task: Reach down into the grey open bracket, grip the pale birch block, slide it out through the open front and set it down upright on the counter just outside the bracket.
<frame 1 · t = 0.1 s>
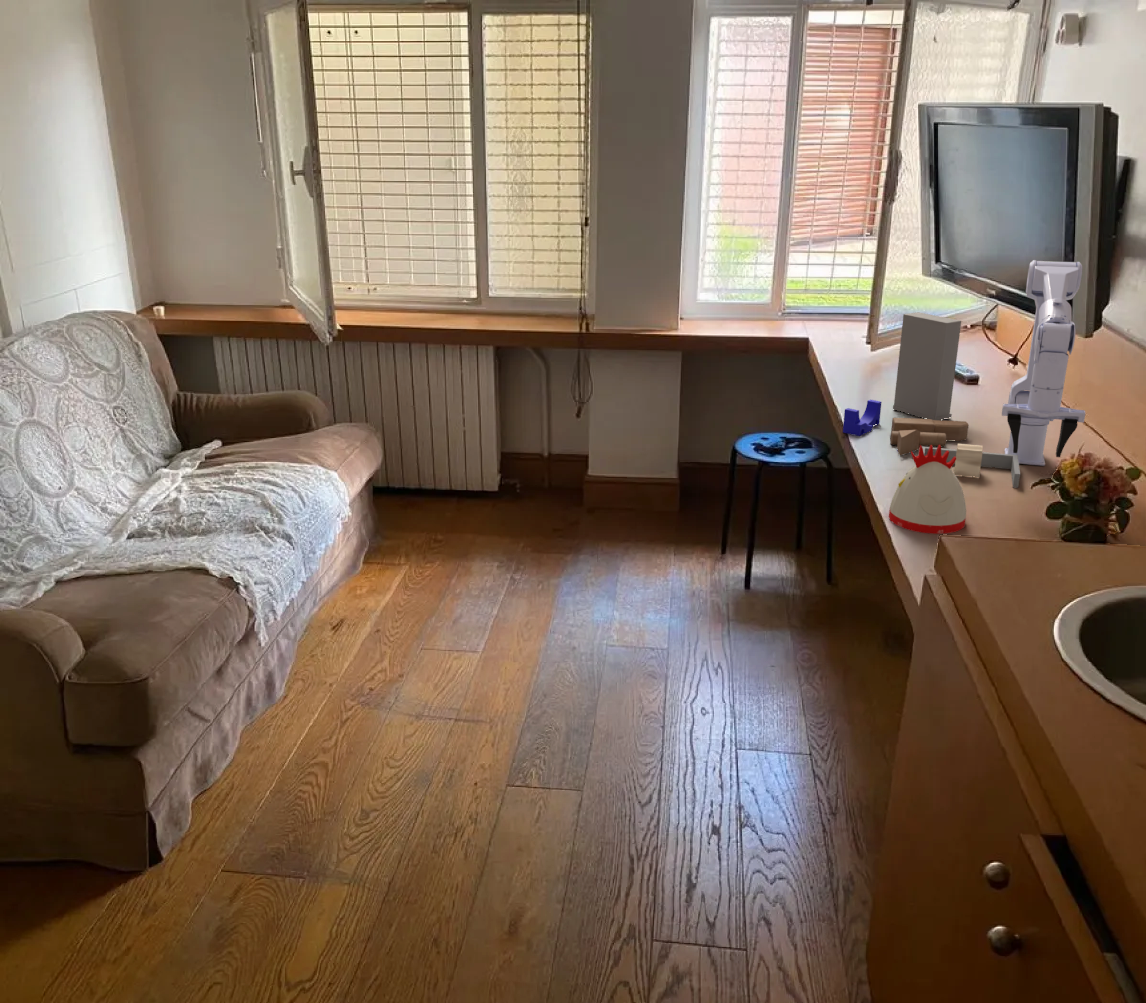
hand: (1036, 453, 200), 10 cm above the counter, tool pointing down, fingers open, 7 cm apart
wooden block set: (930, 448, 237), on the counter
birch block: (966, 474, 219), on the counter
tall grey upright block: (921, 415, 261), on the counter
grey open bracket: (966, 473, 219), on the counter
cable clip: (863, 430, 250), on the counter
kitchen timer: (926, 520, 195), on the counter
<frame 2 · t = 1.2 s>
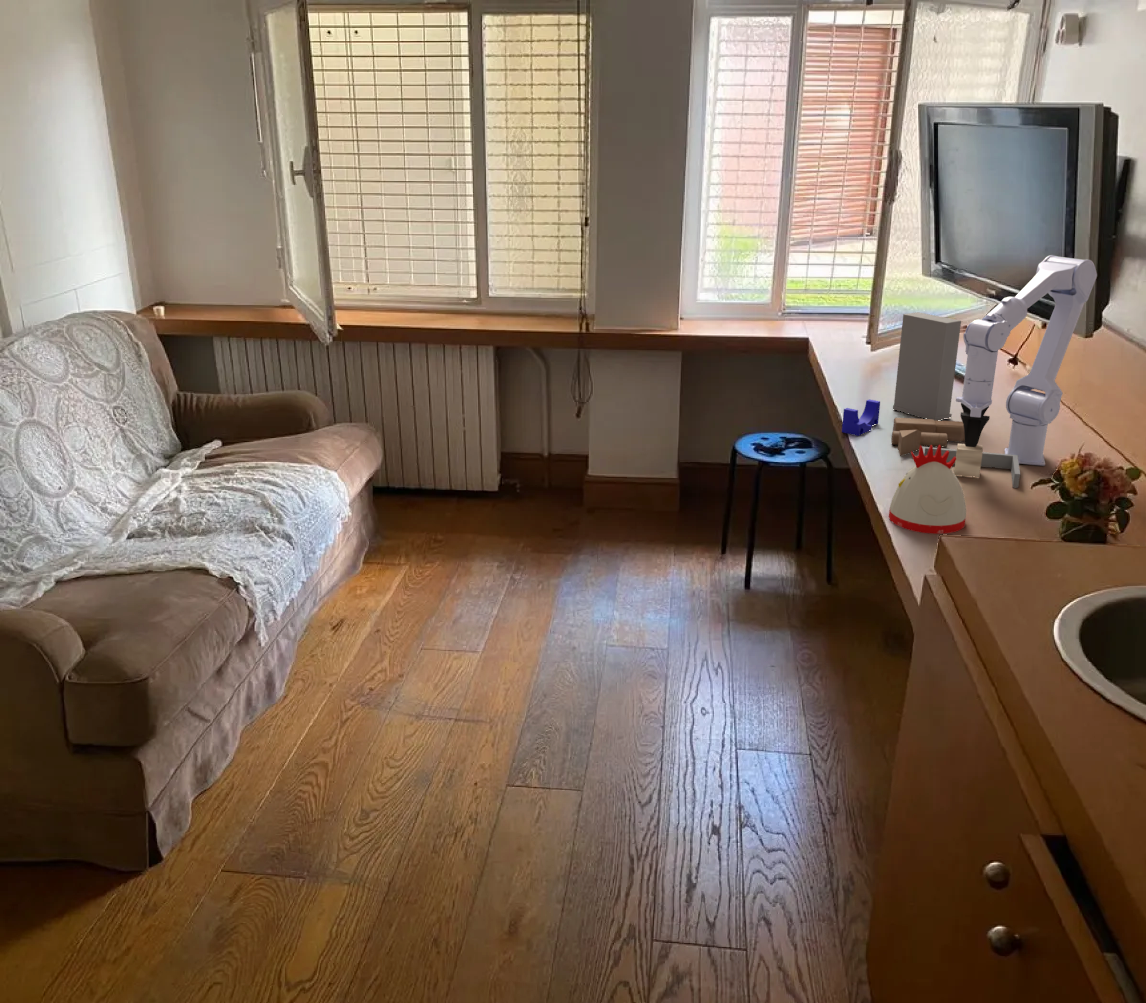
hand: (970, 441, 216), 7 cm above the counter, tool pointing down, fingers open, 7 cm apart
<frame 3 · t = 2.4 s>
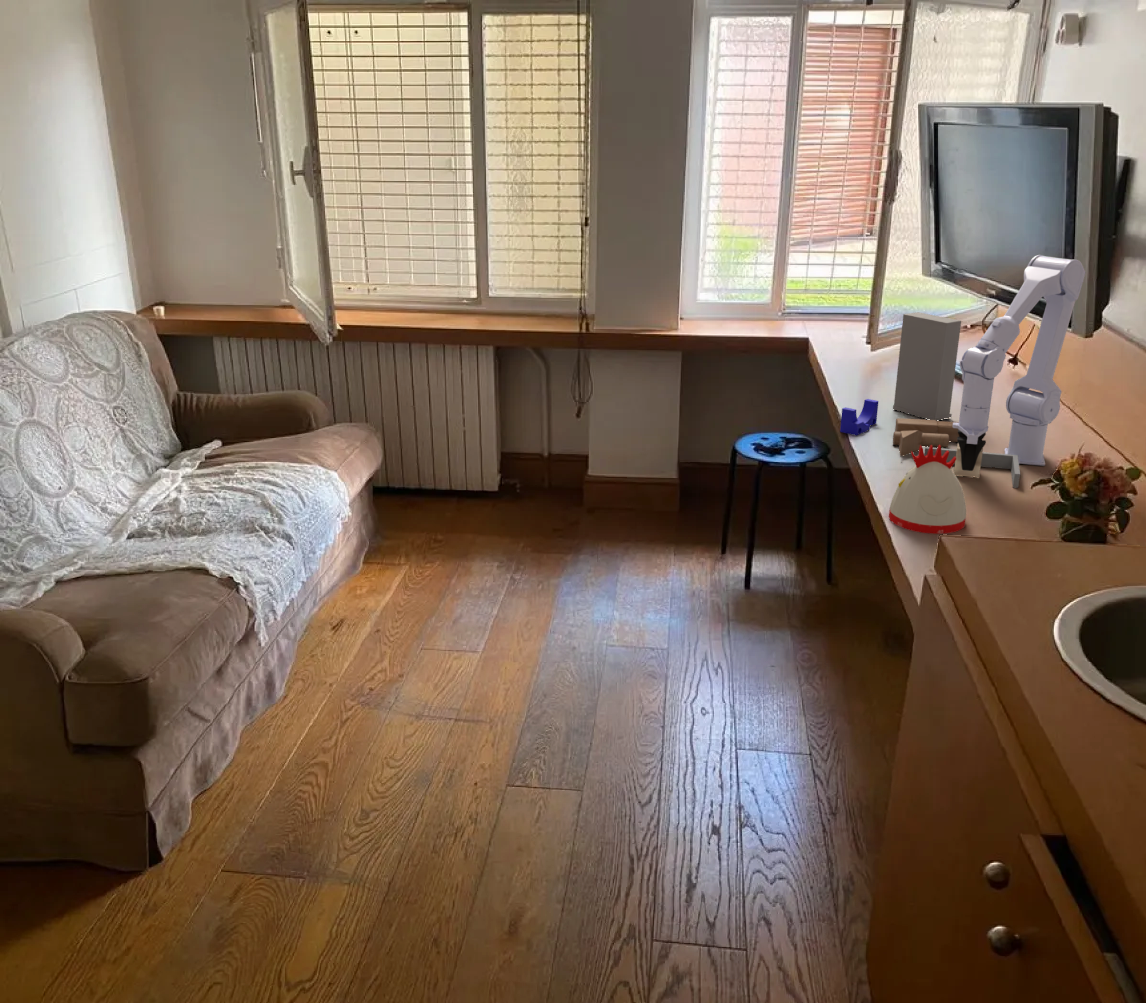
hand: (967, 466, 218), 2 cm above the counter, tool pointing down, fingers closed on birch block, 4 cm apart
birch block: (966, 473, 219), on the counter, touching gripper
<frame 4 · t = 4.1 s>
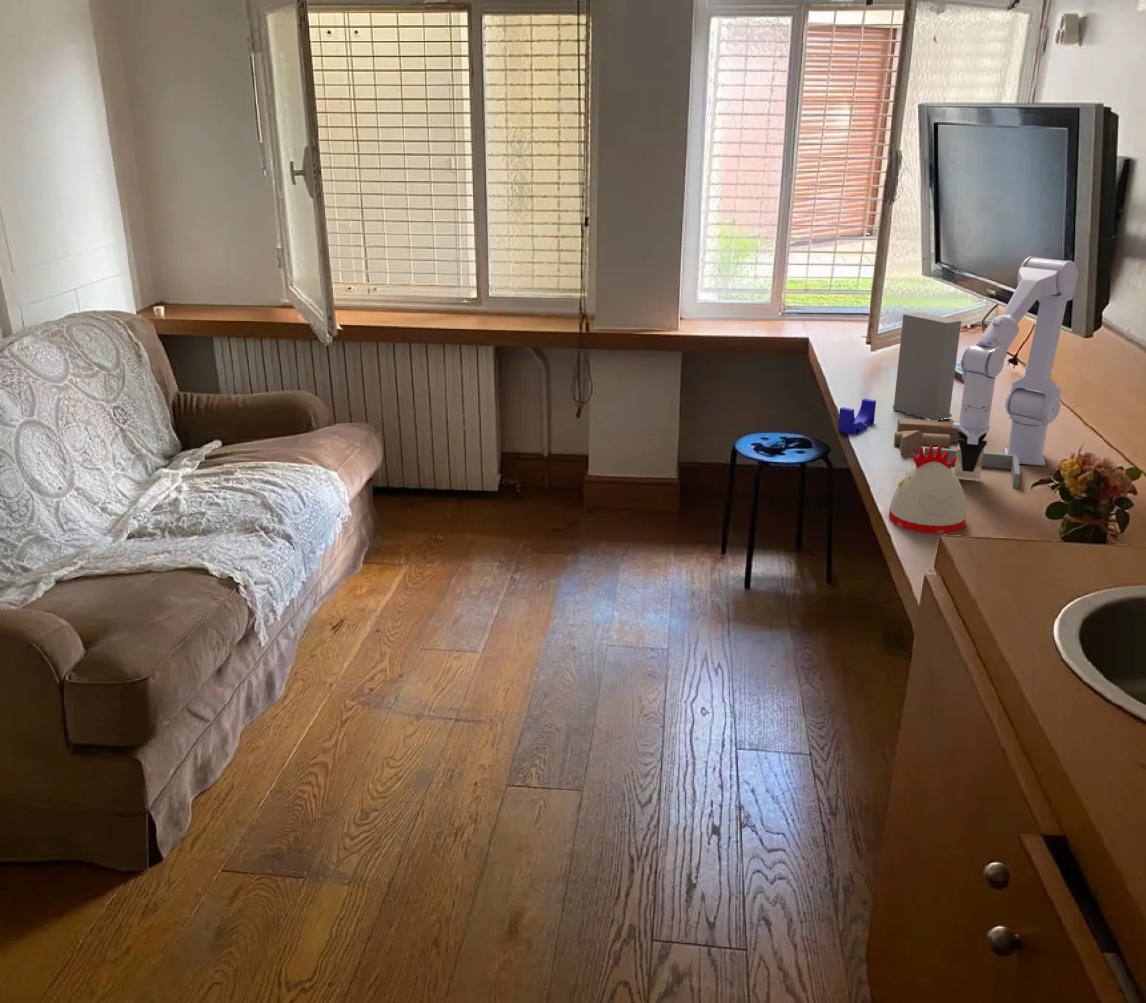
hand: (967, 467, 214), 3 cm above the counter, tool pointing down, fingers closed on birch block, 4 cm apart
birch block: (966, 474, 214), point 1 cm above the counter, touching gripper
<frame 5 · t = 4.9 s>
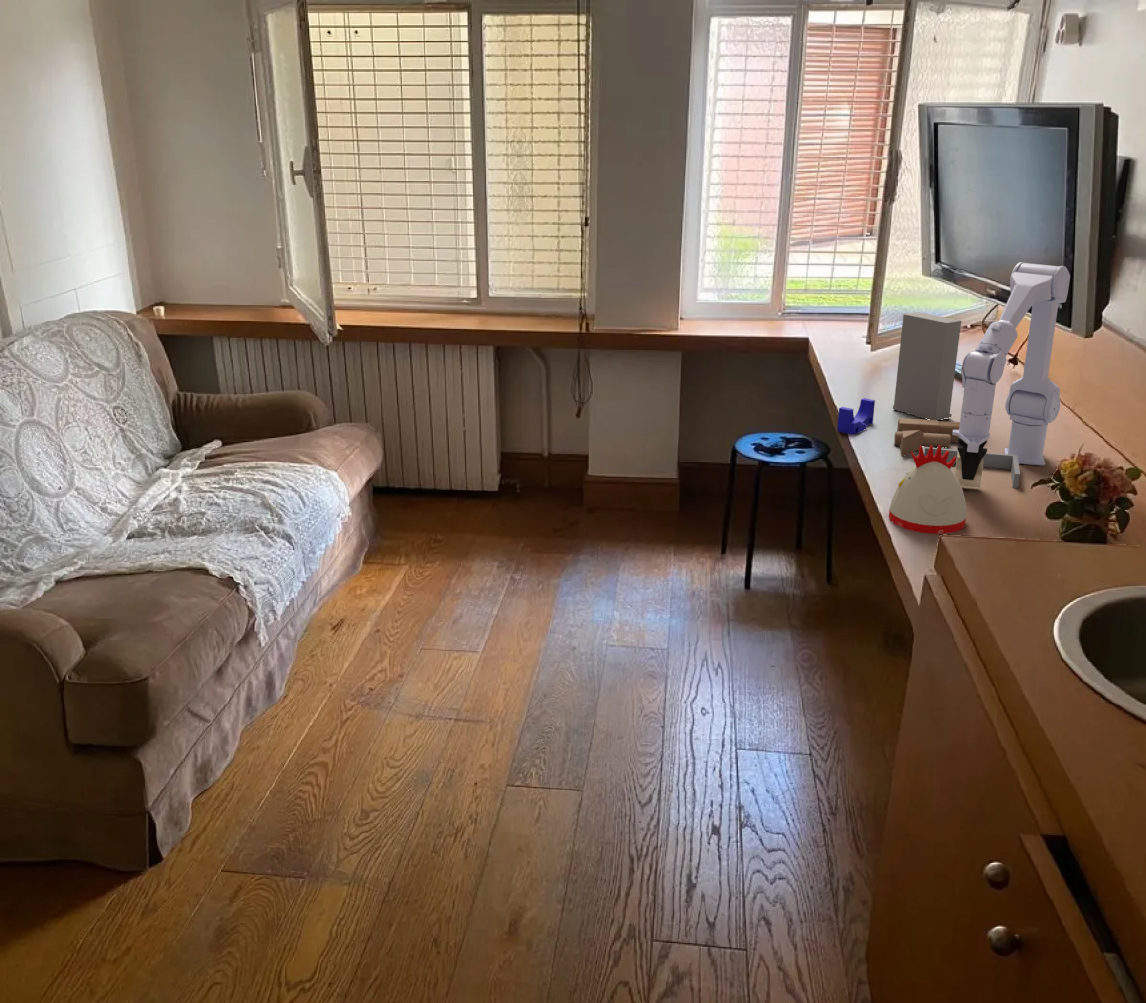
hand: (967, 475, 209), 3 cm above the counter, tool pointing down, fingers closed on birch block, 4 cm apart
birch block: (966, 483, 210), point 1 cm above the counter, touching gripper
when the fingers open (2 cm above the counter, at t = 6.0 s): birch block stays where it is, on the counter.
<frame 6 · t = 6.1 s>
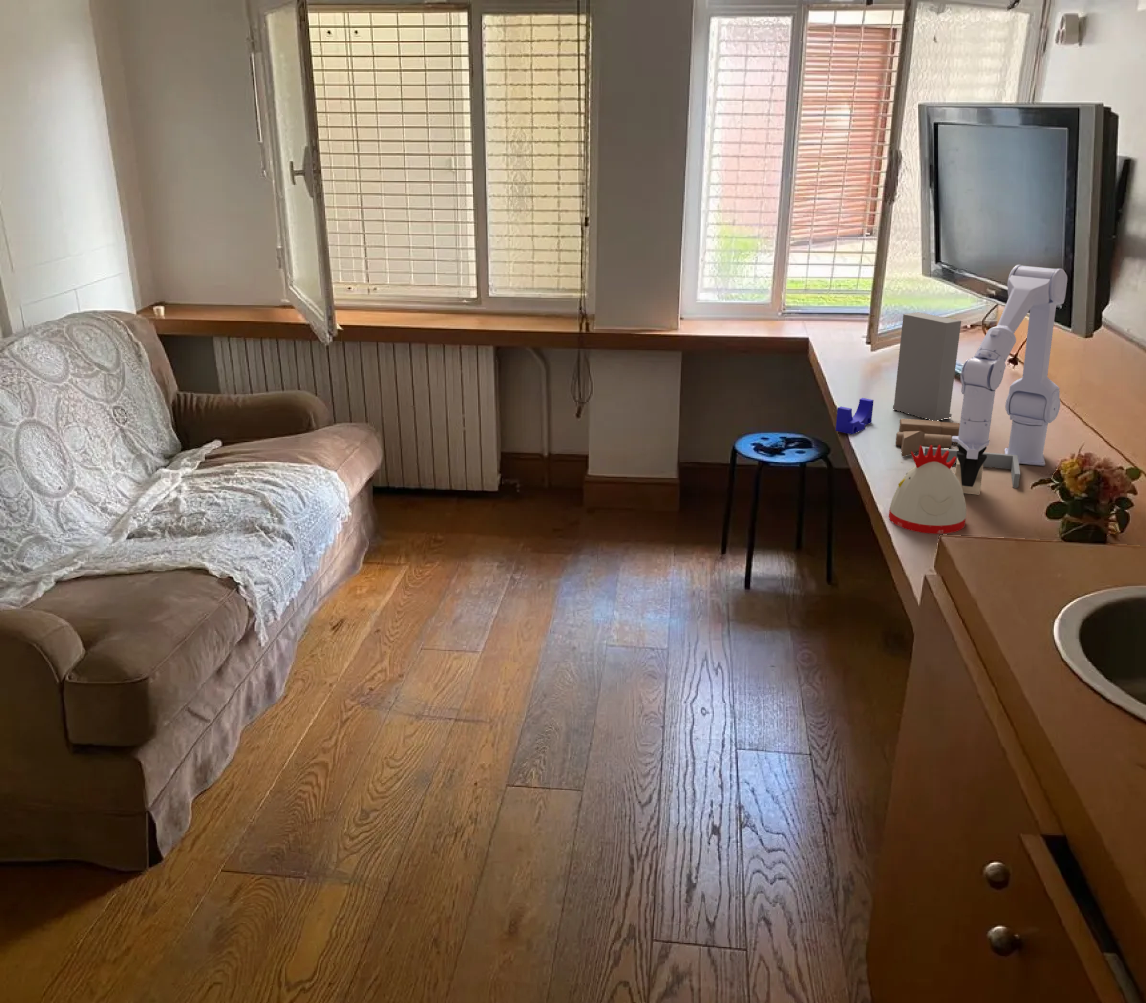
hand: (967, 481, 209), 2 cm above the counter, tool pointing down, fingers open, 4 cm apart
birch block: (966, 490, 209), on the counter
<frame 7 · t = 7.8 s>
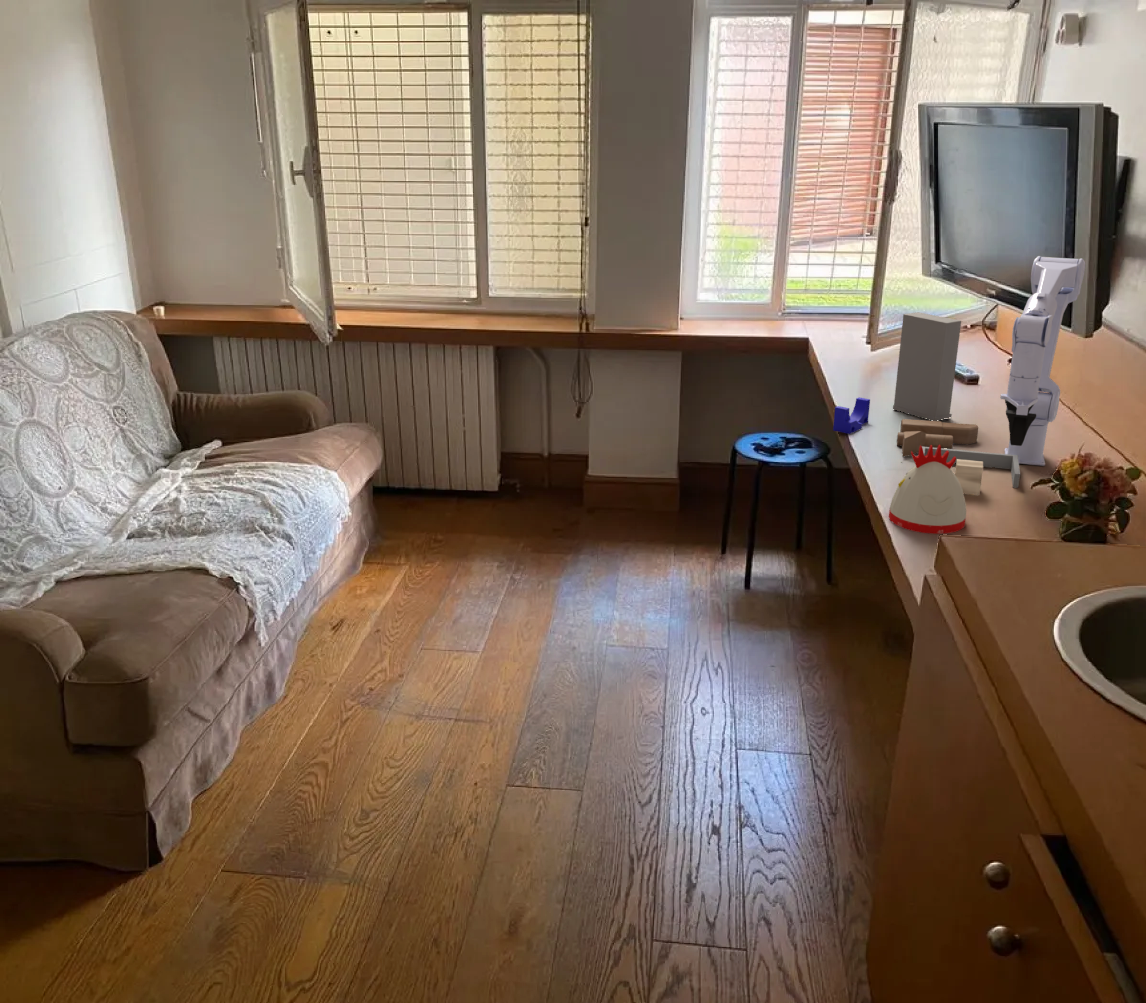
hand: (1015, 439, 211), 9 cm above the counter, tool pointing down, fingers open, 7 cm apart
birch block: (966, 491, 209), on the counter
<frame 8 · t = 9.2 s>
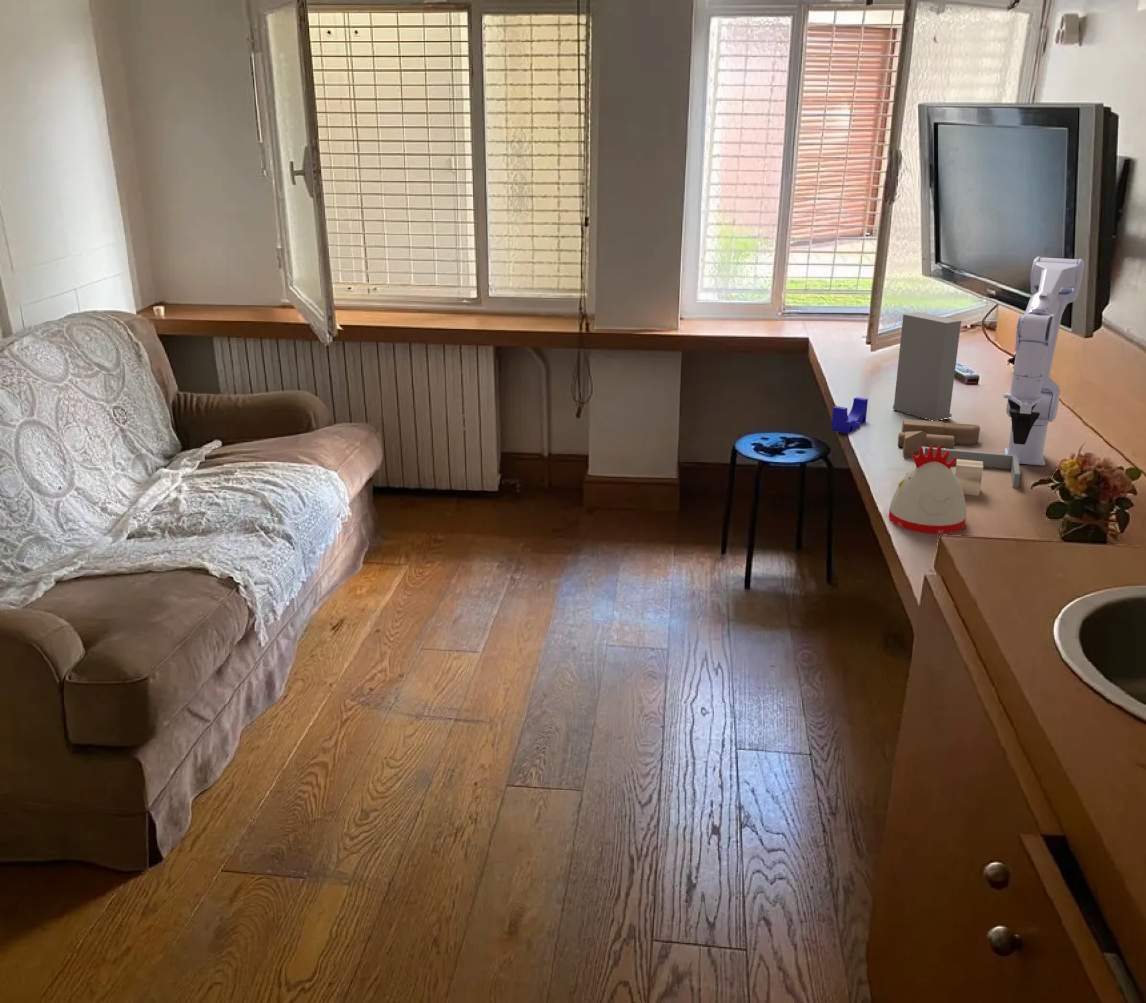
hand: (1018, 438, 211), 9 cm above the counter, tool pointing down, fingers open, 7 cm apart
at the end: birch block inside the target area (0.5 cm from its centre), on the counter; birch block tilted 0°; the gripper is holding nothing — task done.
